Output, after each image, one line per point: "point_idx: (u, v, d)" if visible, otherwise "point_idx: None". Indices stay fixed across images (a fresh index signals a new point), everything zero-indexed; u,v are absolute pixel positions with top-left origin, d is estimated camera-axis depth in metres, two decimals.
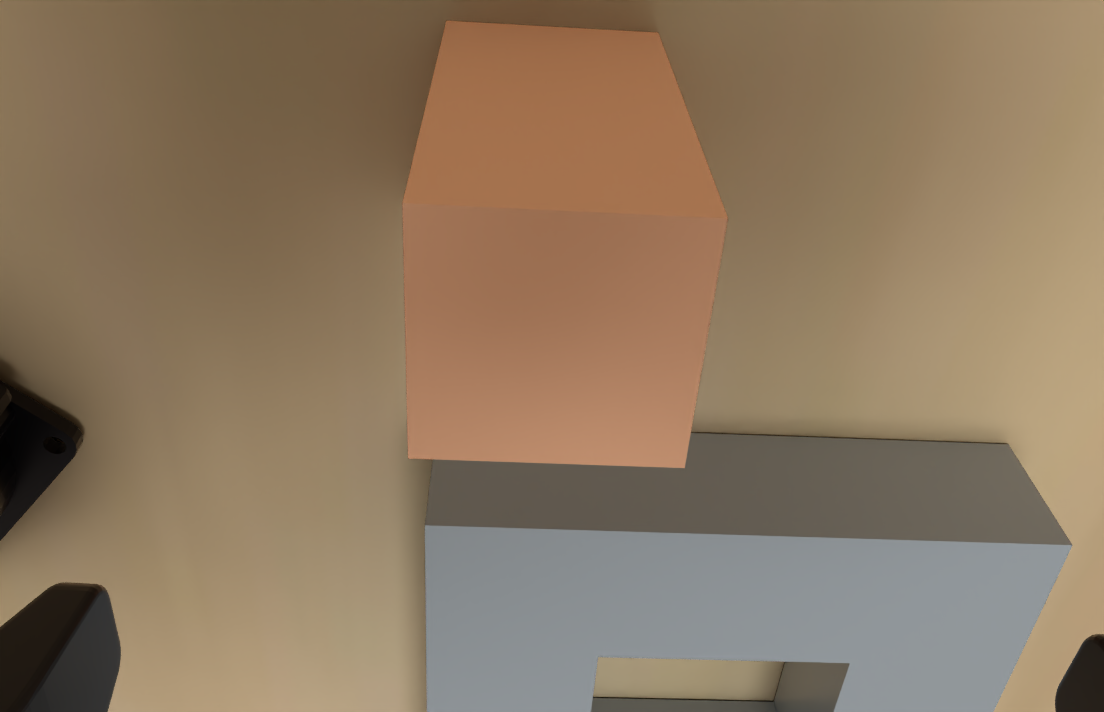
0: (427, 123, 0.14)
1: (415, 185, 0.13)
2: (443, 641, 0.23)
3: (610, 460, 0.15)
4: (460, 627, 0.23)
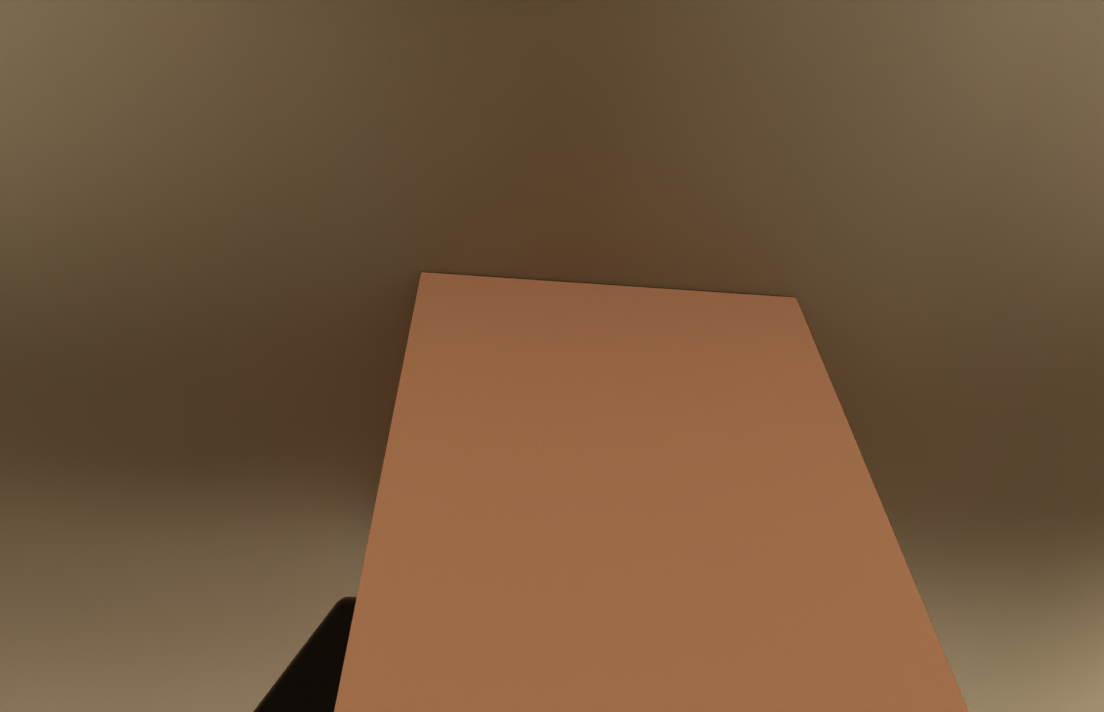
0: (351, 696, 0.06)
1: None
2: None
3: None
4: None
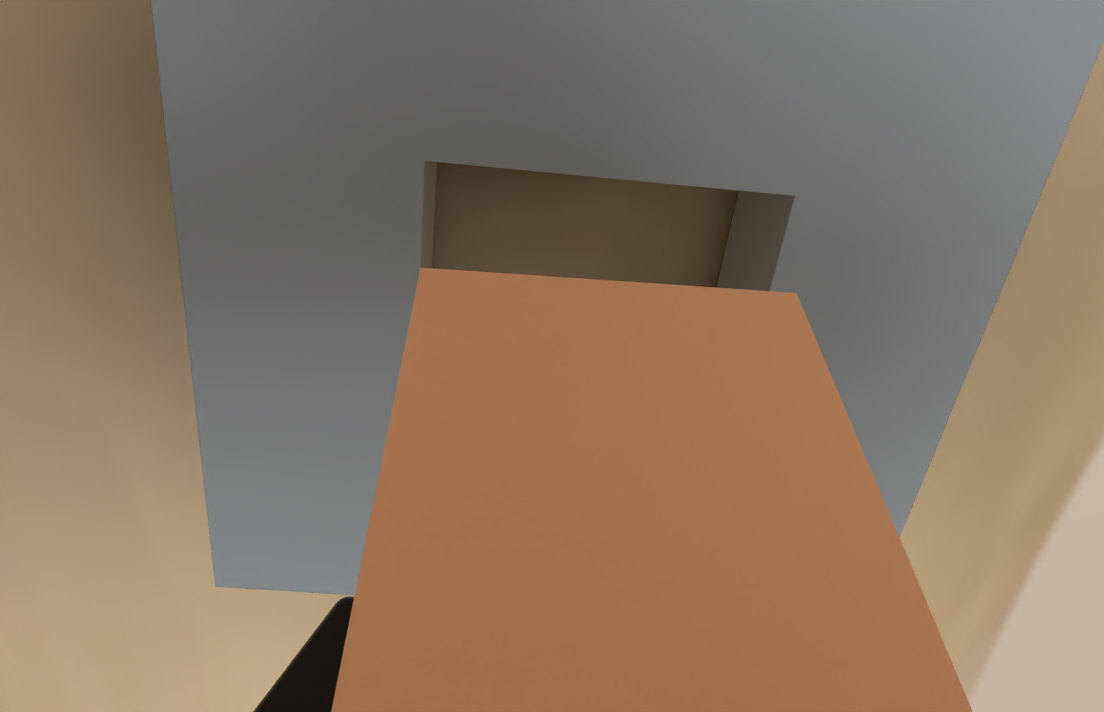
0: (349, 691, 0.06)
1: None
2: (189, 114, 0.15)
3: None
4: (212, 86, 0.15)
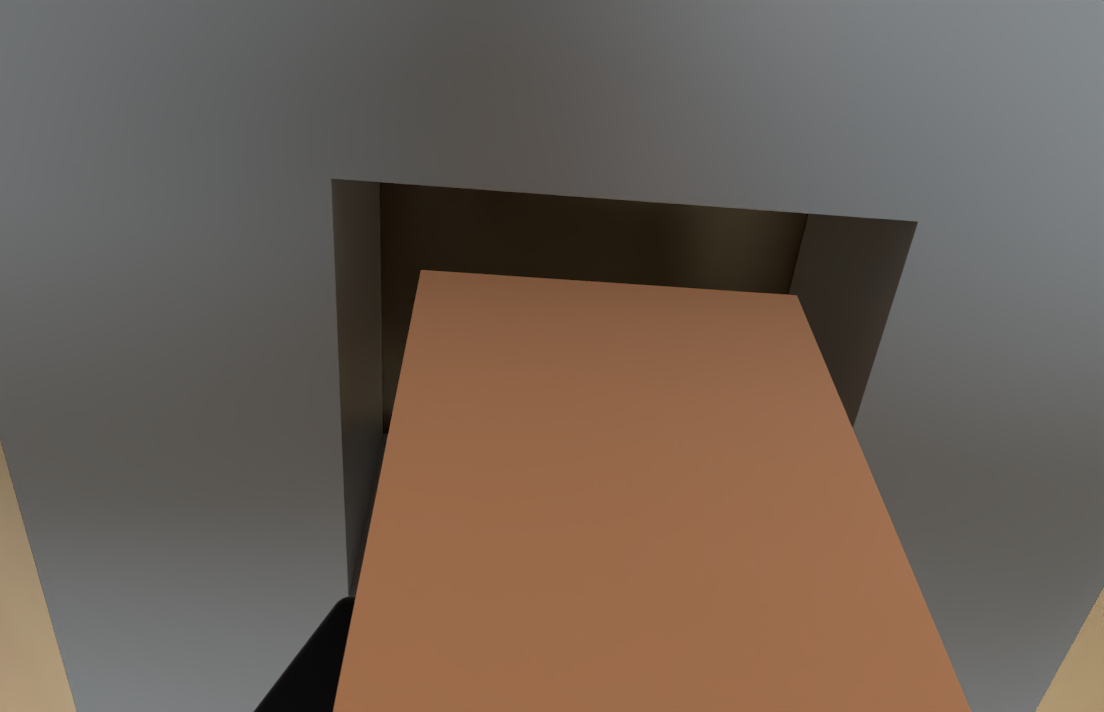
0: (350, 695, 0.06)
1: None
2: None
3: None
4: None
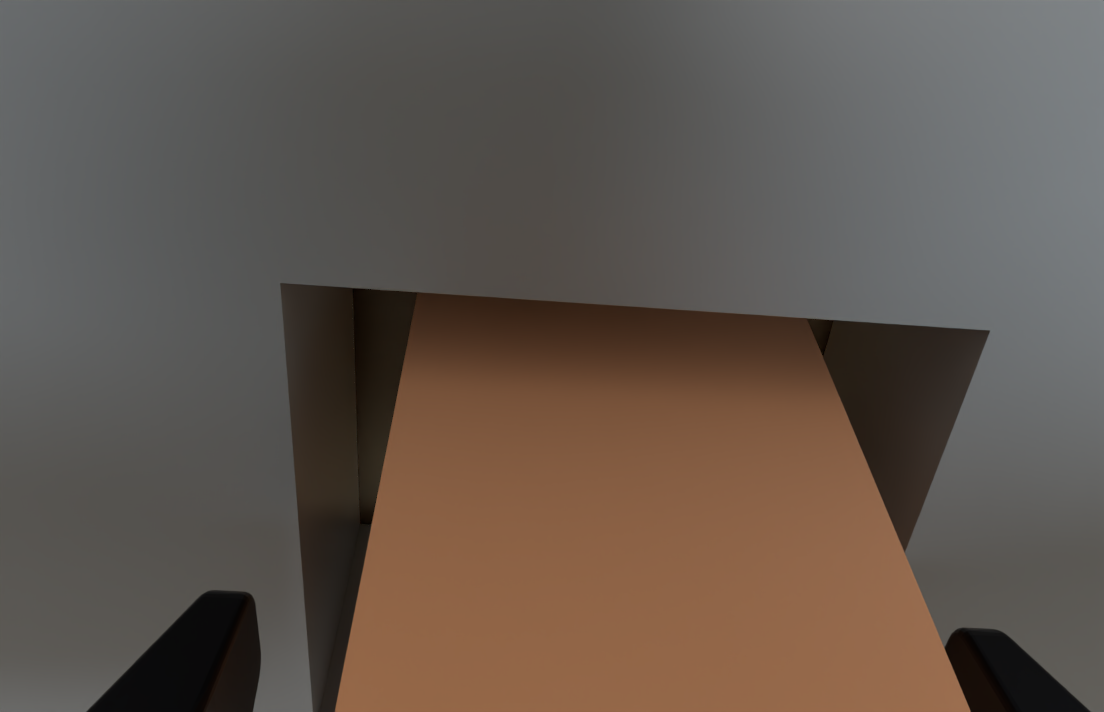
0: (382, 528, 0.07)
1: None
2: None
3: None
4: None
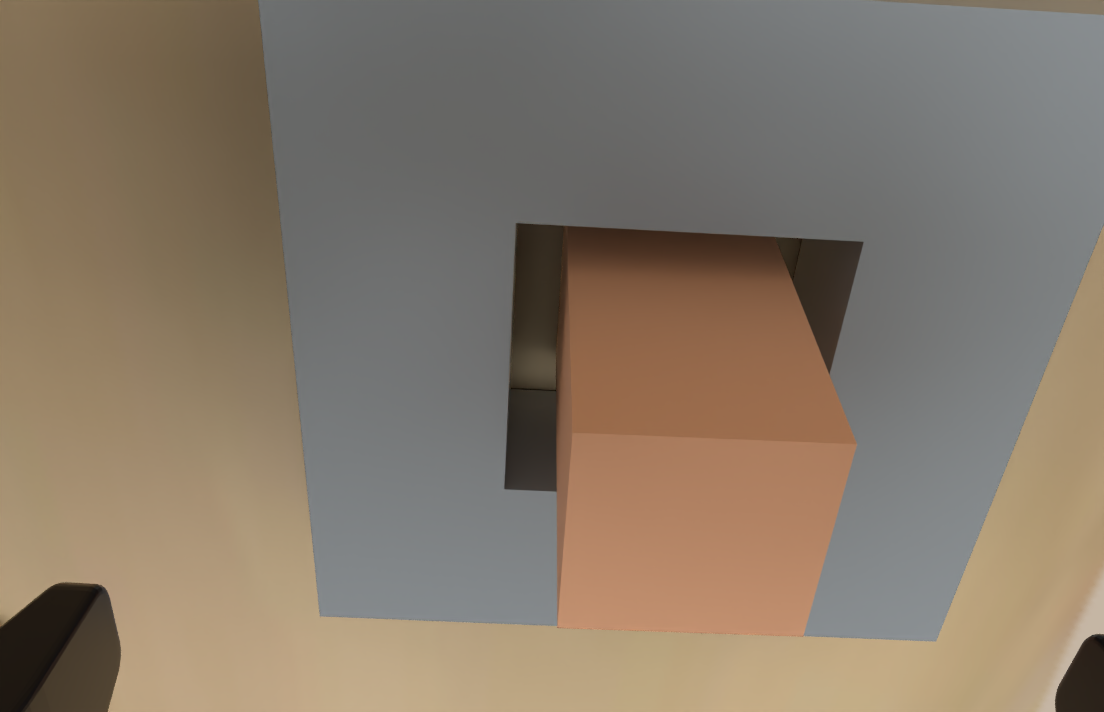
0: (575, 329, 0.16)
1: (579, 410, 0.14)
2: (300, 190, 0.17)
3: (737, 629, 0.16)
4: (322, 163, 0.17)
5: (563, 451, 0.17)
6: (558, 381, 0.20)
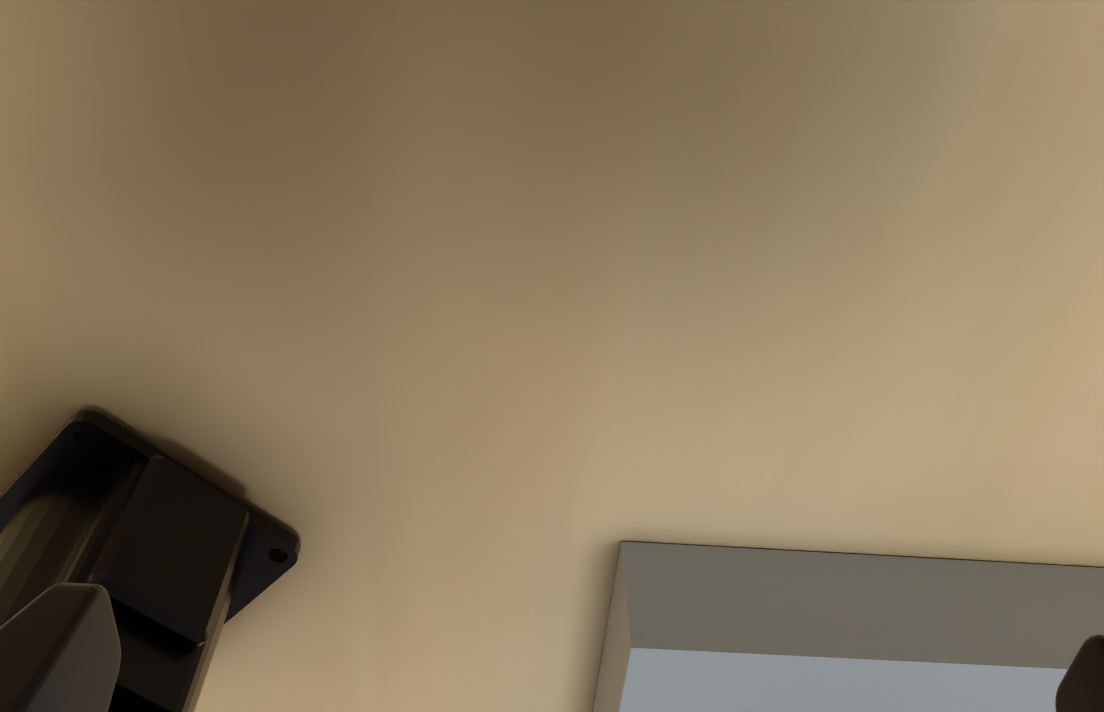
0: None
1: None
2: None
3: None
4: None
5: None
6: None
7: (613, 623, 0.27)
